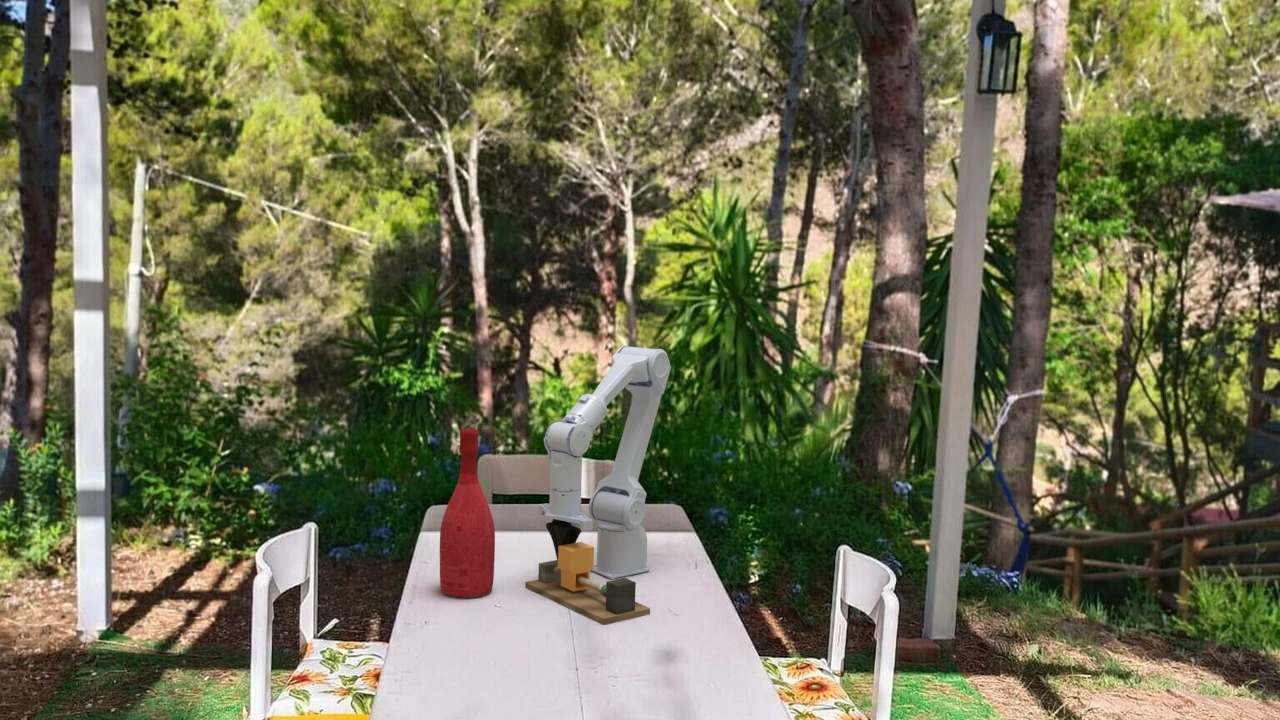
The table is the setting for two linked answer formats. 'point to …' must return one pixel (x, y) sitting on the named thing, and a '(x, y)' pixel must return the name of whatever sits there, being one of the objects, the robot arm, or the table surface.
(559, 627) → the table surface
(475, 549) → the wine bottle
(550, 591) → the cord rig
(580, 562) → the orange notched block
